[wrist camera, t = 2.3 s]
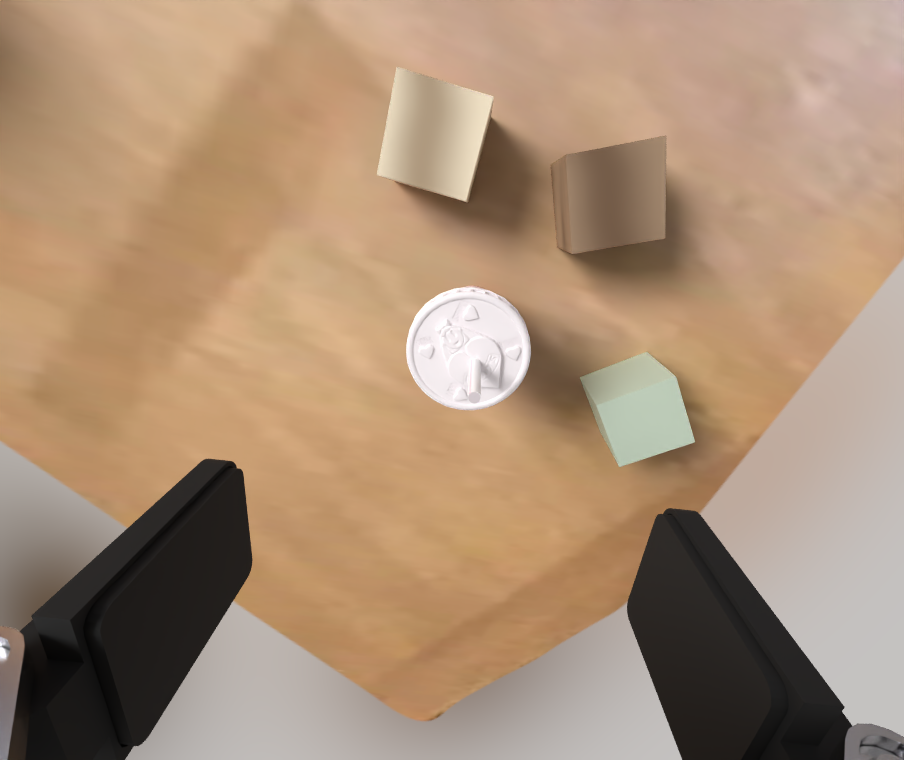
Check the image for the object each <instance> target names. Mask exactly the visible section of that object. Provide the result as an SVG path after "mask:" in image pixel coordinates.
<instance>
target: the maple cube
mask: <svg viewBox="0 0 904 760" xmlns="http://www.w3.org/2000/svg"><path fill="white" fill-rule="evenodd" d="M493 98H494V97H493V96H490V95H487V94H483V93H480V92H477V91H474V90H471V89H467V88H464V87H461V86H458V85H454V84H451V83H448V82H445V81H441V80H438V79H435V78H432V77H429V76H425V75H422V74H419V73H416V72H412V71H409V70H406V69H403V68H400V67H397V68H396V74H395V79H394V84H393V90H392V95H391V101H390V106H389V112H388V117H387V122H386V128H385V133H384V139H383V144H382V149H381V155H380V160H379V166H378V171H377V175H379V176H381V177H384V178H387V179H390V180H393V181H396V182H399V183H403V184H406V185H409V186H413V187H416V188H419V189H423V190H426V191H430V192H433V193H436V194H440V195H443V196H446V197H450V198H453V199H456V200H460V201H463V202H467V203H468V202H469V198H470V194H471V190H472V186H473V183H474V179H475V175H476V171H477V168H478V164H479V160H480V156H481V153H482V149H483V145H484V141H485V138H486V134H487V130H488V126H489V123H490V119H491V113H492V106H493Z"/></svg>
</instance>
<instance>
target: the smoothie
mask: <svg viewBox="0 0 904 760" xmlns="http://www.w3.org/2000/svg"><path fill="white" fill-rule="evenodd" d="M406 355H407V362H408V366H409V369H410V372H411V374H412V376H413V378H414V380H415V382H416V383H417V384H418V386H419V387H420V388H421V389H422V390H423V392H425V393H426V394H427V395H428V396H429V397H430V398H432V399H433V400H435V401H436V402H438V403H440V404H442V405H445V406H447V407H451V408H455V409H460V410H477V409H483V408H487V407H490V406H493V405H495V404H497V403H499V402H501V401H503V400H504V399H506V398H507V397H508V396H510V395H511V394H512V393H513V392H514V391H515V390H516V389H517V388H518V386H519V385H520V384H521V382H522V381H523V379H524V377H525V375H526V373H527V370H528V367H529V363H530V356H531V346H530V337H529V334H528V330H527V327H526V323H525V321H524V320H523V318H522V317H521V315H520V314H519V312H518V310H517V309H516V308H515V307H514V306H513V305H512V304H511V303H509V302H508V301H507V300H506V299H505V298H504V297H501V296H499V295H497V294H495V293H493V292H491V291H489V290H485V289H483V288H481V287H478V286H465V287H462V288H455V289H452V290H449V291H446V292H444V293H441V294H439V295H437V296H436V297H434V298H433V299H432V300H430V301H429V302H427V303H426V304H425V305H424V306H423V308H422V309H421V310H420V311H419V312H418V314H417V315H416V316H415V319H414V321H413V323H412V325H411V328H410V330H409V335H408V339H407V347H406Z"/></svg>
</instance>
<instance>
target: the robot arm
mask: <svg viewBox="0 0 904 760" xmlns="http://www.w3.org/2000/svg"><path fill="white" fill-rule="evenodd" d="M251 567H252V552H251V542H250V533H249V523H248V514H247V505H246V495H245V486H244V476H243V472H242V470H241V469H238V468H237V467H236V465H235V463H234V462H232V461H225V460H215V459H205V460H203V461H202V462H200V463H199V464H198V465H197V466H196V467H195V468H194V469H193V470H192V471H190V472H189V473H188V474H187V475H186V476H185V477H184V478H183V479H182V480H180V481H179V482H178V483H177V484H176V485H175V486H174V487H173V488H172V489H171V490H169V491H168V492H167V493H166V494H165V495H164V496H163V497H162V498H161V499H160V500H158V501H157V502H156V503H155V504H154V505H153V506H152V507H151V508H150V509H149V510H147V511H146V512H145V513H144V514H143V515H142V516H141V517H140V518H139V519H137V520H136V521H135V522H134V523H133V524H132V525H131V526H130V527H129V528H128V529H126V530H125V531H124V532H123V533H122V534H121V535H120V536H119V537H118V538H117V539H115V540H114V541H113V542H112V543H111V544H110V545H109V546H108V547H107V548H105V549H104V550H103V551H102V552H101V553H100V554H99V555H98V556H97V557H96V558H94V559H93V560H92V561H91V562H90V563H89V564H88V565H87V566H86V567H85V568H84V569H83V570H81V571H80V572H79V573H78V574H77V575H76V576H75V577H74V578H73V579H71V580H70V581H69V582H68V583H67V584H66V585H65V586H64V587H62V588H61V589H60V590H59V591H58V592H57V593H56V594H55V595H54V596H53V597H51V598H50V599H49V600H48V601H47V602H46V603H45V604H44V605H43V606H42V607H41V608H39V609H38V610H37V611H36V612H35V613H34V614H33V615H32V619H33V620H32V621H31V622H30V623H28V624H27V625H26V626H25V627H24V628H23V629H22V630H21V631H20V632H19V631H18V630H17V629H14V628H9V627H5V626H0V760H125V759H126V757H127V756H128V754H129V753H130V751H131V749H132V748H133V746H139V745H140V744H142V743H143V742H144V741H145V740H146V739H147V737H148V736H149V735H150V733H151V732H152V730H153V728H154V727H155V725H156V723H157V722H158V720H159V719H160V717H161V715H162V714H163V712H164V711H165V709H166V707H167V706H168V704H169V703H170V701H171V700H172V698H173V696H174V695H175V693H176V691H177V690H178V688H179V687H180V685H181V683H182V682H183V680H184V679H185V677H186V675H187V674H188V672H189V671H190V669H191V667H192V666H193V664H194V663H195V661H196V659H197V658H198V656H199V655H200V653H201V651H202V649H203V648H204V647H205V645H206V643H207V642H208V640H209V639H210V637H211V635H212V634H213V632H214V631H215V629H216V627H217V626H218V624H219V623H220V621H221V619H222V618H223V616H224V615H225V613H226V611H227V609H228V608H229V607H230V605H231V603H232V602H233V600H234V599H235V597H236V595H237V594H238V592H239V590H240V589H241V587H242V586H243V584H244V582H245V581H246V579H247V578H248V576H249V573H250V571H251ZM627 613H628V617H629V621H630V624H631V626H632V629H633V631H634V634H635V637H636V639H637V642H638V645H639V647H640V650H641V653H642V655H643V658H644V660H645V663H646V666H647V668H648V671H649V674H650V676H651V678H652V681H653V684H654V686H655V689H656V692H657V694H658V697H659V700H660V702H661V705H662V708H663V710H664V713H665V716H666V718H667V721H668V723H669V726H670V729H671V731H672V734H673V736H674V739H675V741H676V744H677V747H678V750H679V752H680V755H681V757H682V760H904V737H903V736H901V735H899V734H897V733H895V732H893V731H891V730H889V729H886V728H883V727H880V726H877V725H873V724H856V725H854V726H852V725H851V723H850V722H849V721H848V719H847V718H846V717H845V715H844V714H843V713H842V710H843V709H844V706H843V704H842V703H841V702H840V700H839V699H838V698H837V696H836V695H835V694H834V692H833V691H832V690H831V689H830V687H829V686H828V684H827V683H826V682H825V680H824V679H823V678H822V676H821V675H820V674H819V672H818V671H817V670H816V669H815V667H814V666H813V664H812V663H811V662H810V660H809V659H808V658H807V656H806V655H805V654H804V652H803V651H802V650H801V648H800V647H799V646H798V645H797V643H796V642H795V640H794V639H793V638H792V636H791V635H790V634H789V632H788V631H787V630H786V628H785V627H784V626H783V624H782V623H781V622H780V620H779V619H778V618H777V617H776V615H775V614H774V612H773V611H772V610H771V608H770V607H769V606H768V605H767V603H766V602H765V600H764V599H763V598H762V596H761V595H760V594H759V593H758V591H757V590H756V588H755V587H754V586H753V584H752V583H751V582H750V581H749V579H748V578H747V577H746V575H745V574H744V573H743V571H742V570H741V568H740V567H739V566H738V564H737V563H736V562H735V561H734V559H733V558H732V557H731V555H730V554H729V553H728V551H727V550H726V549H725V547H724V546H723V545H722V543H721V542H720V541H719V539H718V538H717V537H716V535H715V534H714V533H713V531H712V530H711V529H710V527H709V526H708V525H707V523H706V522H705V521H704V519H703V518H702V517H701V515H700V514H699V513H698V512H696V511H691V510H681V509H672V508H669V509H666V510H665V511H664V513H663V514H658V515H657V517H656V519H655V521H654V524H653V527H652V530H651V533H650V536H649V539H648V542H647V545H646V548H645V551H644V554H643V557H642V560H641V563H640V566H639V569H638V572H637V575H636V578H635V581H634V584H633V587H632V590H631V593H630V596H629V599H628V603H627Z"/></svg>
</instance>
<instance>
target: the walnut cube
mask: <svg viewBox="0 0 904 760" xmlns="http://www.w3.org/2000/svg"><path fill="white" fill-rule="evenodd" d="M551 175H552V188H553V201H554V213H555V226H556V239H557V247H558V248H560V249H562V250H564V251H567V252H569V253H571V254H576V253H582V252H588V251H594V250H600V249H606V248H612V247H618V246H624V245H630V244H636V243H642V242H648V241H654V240H660V239H665V214H666V136H662V137H657V138H651V139H646V140H641V141H636V142H631V143H626V144H621V145H615V146H610V147H605V148H600V149H595V150H590V151H584V152H579V153H574V154H569V155H565V156H564V157H562V158H560V159H559V160H557V161H556V162H554V163H553V164H551Z"/></svg>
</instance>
